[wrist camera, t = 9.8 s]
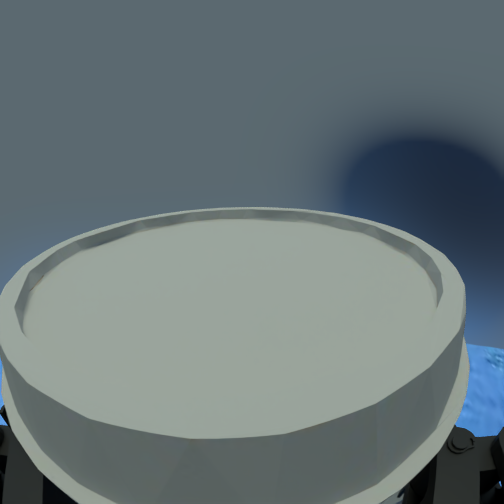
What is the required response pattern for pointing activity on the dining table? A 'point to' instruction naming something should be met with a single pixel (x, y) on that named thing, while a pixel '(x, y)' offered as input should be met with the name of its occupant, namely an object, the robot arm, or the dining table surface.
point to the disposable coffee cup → (234, 359)
